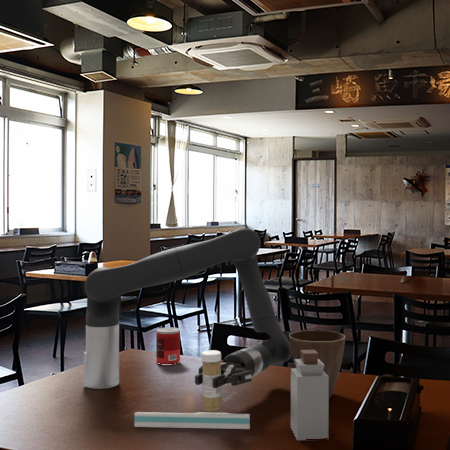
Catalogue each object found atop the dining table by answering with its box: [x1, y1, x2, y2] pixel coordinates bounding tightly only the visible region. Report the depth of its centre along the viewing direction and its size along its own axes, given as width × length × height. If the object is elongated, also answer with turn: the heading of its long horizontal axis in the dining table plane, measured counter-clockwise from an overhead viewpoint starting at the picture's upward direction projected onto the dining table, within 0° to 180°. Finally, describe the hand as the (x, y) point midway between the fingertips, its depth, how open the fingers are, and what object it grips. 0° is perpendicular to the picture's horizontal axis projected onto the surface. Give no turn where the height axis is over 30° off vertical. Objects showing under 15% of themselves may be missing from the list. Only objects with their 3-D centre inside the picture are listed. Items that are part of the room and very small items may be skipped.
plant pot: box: [288, 329, 346, 398], centre depth 144 cm, size 15×15×16 cm
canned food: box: [155, 326, 181, 364], centre depth 178 cm, size 8×8×11 cm
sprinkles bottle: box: [201, 349, 223, 413], centre depth 126 cm, size 5×5×14 cm
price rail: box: [133, 411, 251, 430], centre depth 126 cm, size 26×10×3 cm, turn 87°
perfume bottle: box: [290, 350, 330, 441], centre depth 118 cm, size 7×7×18 cm
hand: (205, 382), depth 124 cm, fingers closed on sprinkles bottle, 4 cm apart
